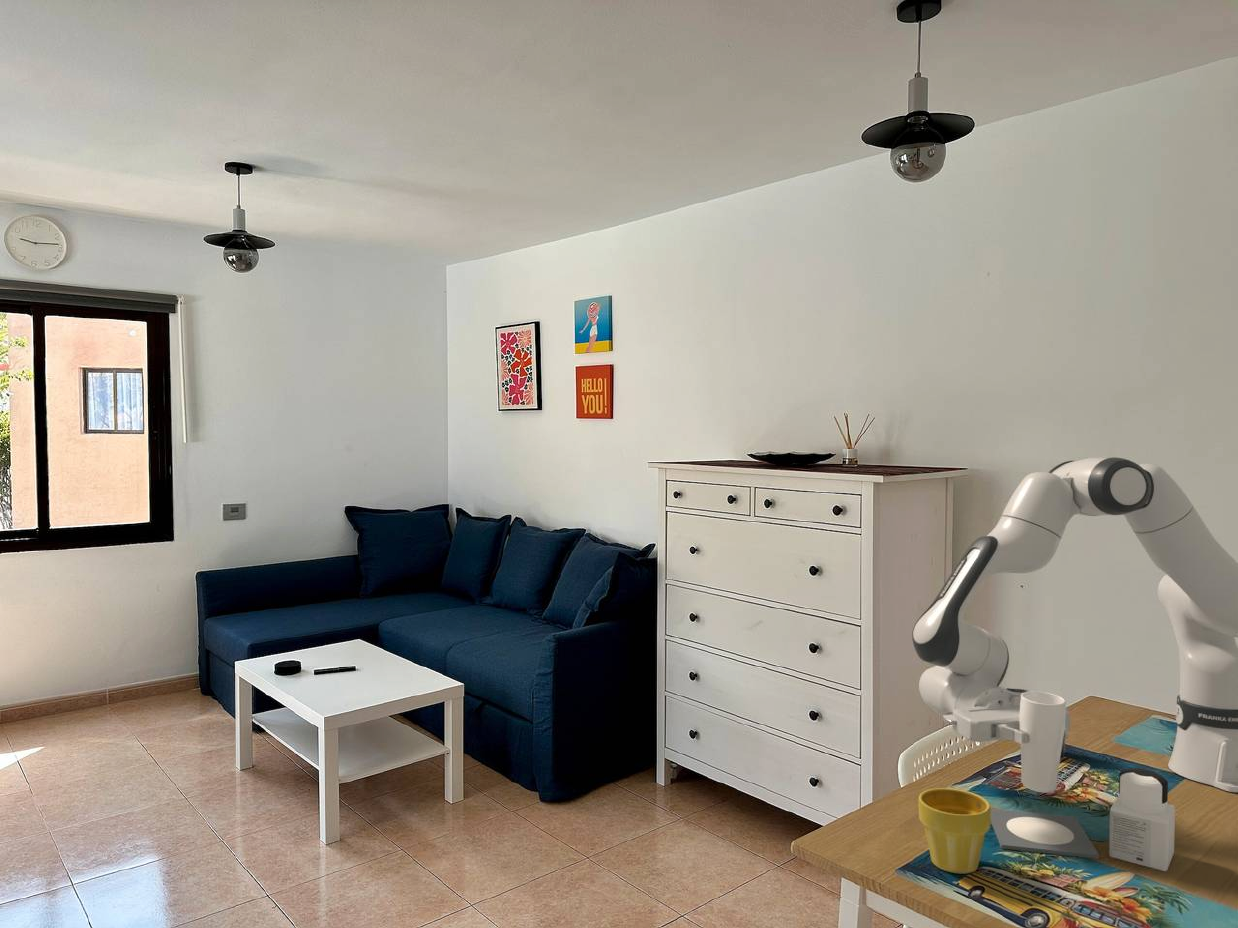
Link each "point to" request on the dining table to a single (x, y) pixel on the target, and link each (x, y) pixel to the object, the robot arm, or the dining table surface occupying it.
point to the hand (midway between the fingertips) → (1045, 736)
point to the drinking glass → (1041, 739)
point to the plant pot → (954, 827)
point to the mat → (1041, 833)
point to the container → (1142, 820)
